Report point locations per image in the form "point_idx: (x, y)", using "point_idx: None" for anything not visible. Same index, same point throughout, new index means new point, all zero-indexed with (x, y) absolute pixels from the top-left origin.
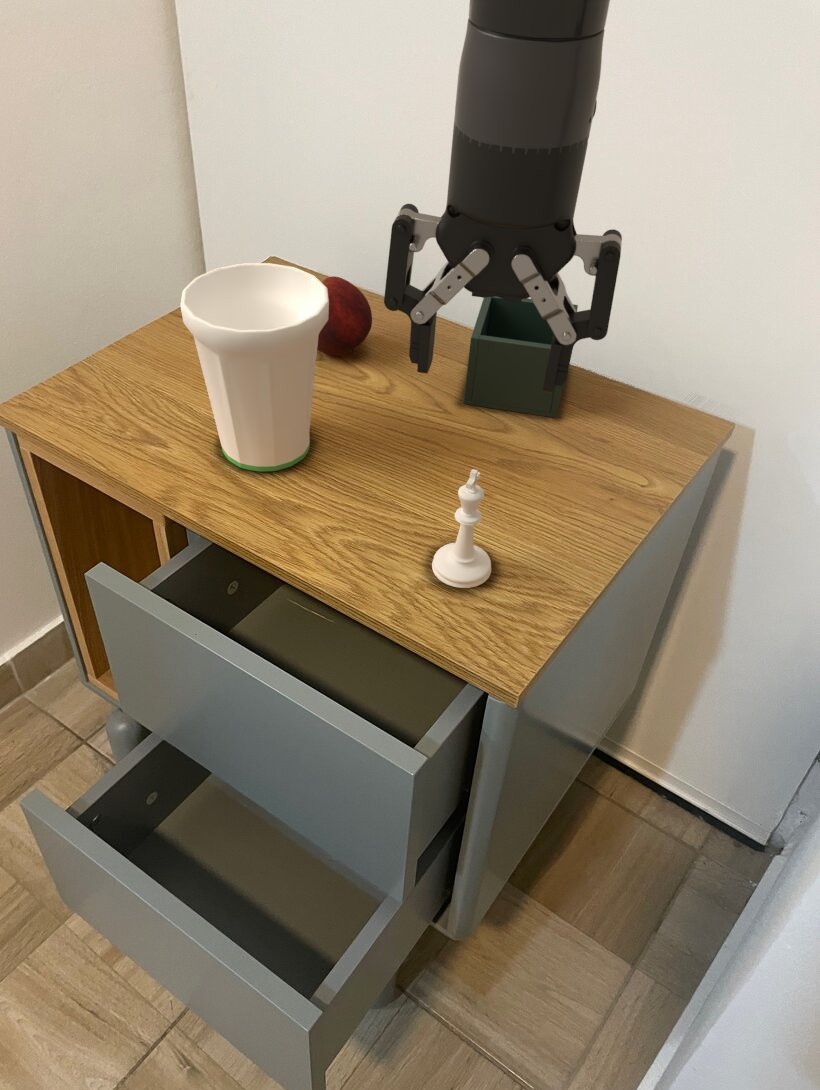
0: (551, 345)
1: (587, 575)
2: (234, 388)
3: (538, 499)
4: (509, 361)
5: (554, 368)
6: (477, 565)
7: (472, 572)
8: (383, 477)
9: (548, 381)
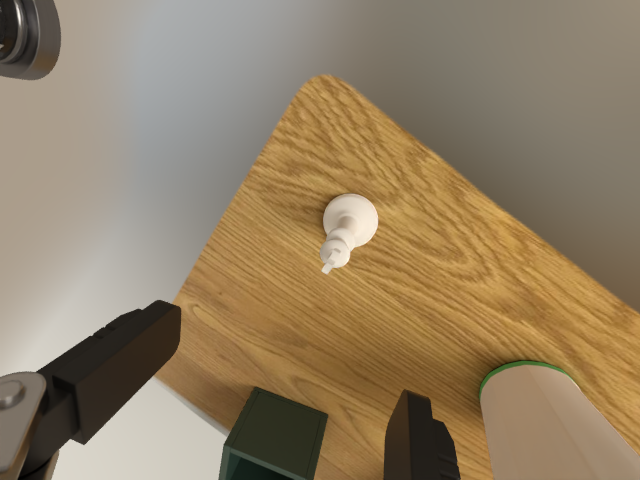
0: (79, 382)
1: (243, 207)
2: (636, 465)
3: (276, 298)
4: (281, 446)
5: (118, 332)
6: (335, 213)
7: (341, 205)
8: (410, 339)
9: (152, 315)
